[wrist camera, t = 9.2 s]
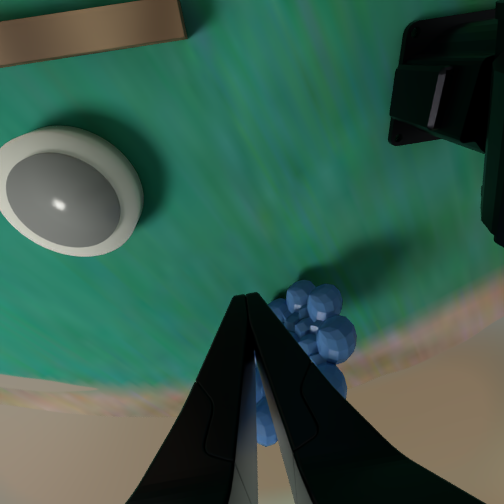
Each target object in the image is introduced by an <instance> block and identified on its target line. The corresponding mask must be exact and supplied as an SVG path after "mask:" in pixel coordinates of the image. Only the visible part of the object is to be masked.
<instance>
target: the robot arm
mask: <svg viewBox="0 0 504 504" xmlns="http://www.w3.org/2000/svg"><path fill="white" fill-rule="evenodd" d="M414 28H416V35H415V37H414V38H412V35H411V33H412V30H413V29H414ZM390 116H391V121H390V128H389V135H388V141H389V143H390V144H392V145H394V146H400V145H406V144H413V143H419V142H425V141H431V140H437V139H444V140H447V141H450V142H453V143H455V144H458V145H461V146H464V147H466V148H469V149H472V150H475V151H478V152H480V153H483V154H485V160H484V172H483V185H482V187H481V221H482V222H483V223H484V224H485V226H486V227H487V228H488V230H489V231H490V232H491V233H492V234H493V235H494V241H495V243H497V244H499V245H501V246H502V247H504V0H499V1H497V2H496V9H491V10H485V11H479V12H472V13H466V14H459V15H453V16H446V17H440V18H433V19H427V20H420V21H415V22H412V23H410V24H409V25H407V27H406V28H405V30H404V33H403V39H402V45H401V52H400V59H399V66H398V68H397V69H396V71H395V78H394V85H393V92H392V99H391V106H390ZM398 134H399V138H398V139H397V140H395V137H396V136H397V135H398ZM254 352H255V353H254ZM255 357H256V361H257V366H258V369H259V373H260V377H261V380H262V384H263V388H264V391H265V395H266V399H267V402H268V406H269V409H270V413H271V417H272V420H273V424H274V428H275V431H276V435H277V439H278V442H279V446H280V450H281V453H282V457H283V461H284V464H285V468H286V472H287V475H288V479H289V483H290V486H291V490H292V494H293V497H294V501H295V504H486V503H484V502H482V501H481V500H479V499H477V498H475V497H474V496H472V495H470V494H468V493H467V492H465V491H463V490H461V489H460V488H458V487H457V486H455V485H453V484H451V483H450V482H448V481H446V480H445V479H443V478H441V477H439V476H438V475H436V474H434V473H433V472H431V471H429V470H427V469H426V468H424V467H422V466H420V465H419V464H417V463H415V462H414V461H412V460H410V459H409V458H408V457H406V456H405V455H403V454H402V453H401V452H399V451H398V450H397V449H396V448H395V447H393V446H392V445H391V444H390V443H389V442H388V441H387V440H386V439H385V438H384V437H382V435H381V434H380V433H379V432H378V431H377V430H376V429H375V428H374V427H373V426H372V425H371V424H370V423H369V422H368V421H367V420H366V419H365V418H364V417H363V416H362V415H361V414H359V412H358V411H357V410H356V409H354V407H353V406H352V405H351V404H349V403H348V401H346V399H345V398H344V397H343V396H342V395H341V394H340V393H339V392H338V391H337V390H336V389H335V388H334V387H333V386H332V384H331V383H330V382H329V381H328V380H327V379H326V377H325V376H324V375H323V374H322V373H321V371H320V370H319V369H318V368H317V366H316V365H315V364H314V363H313V362H312V360H311V359H310V358H309V356H308V355H307V354H306V353H305V351H304V350H303V349H302V348H301V346H300V345H299V344H298V343H297V341H296V340H295V339H294V337H293V336H292V335H291V334H290V332H289V331H288V330H287V329H286V327H285V326H284V325H283V324H282V322H281V321H280V320H279V319H278V317H277V316H276V315H275V313H274V312H273V311H272V310H271V308H270V307H269V306H268V305H267V303H266V302H265V301H264V300H263V298H262V297H261V296H260V294H259V293H257V292H254V293H248V294H246V296H245V295H244V294H242V295H236V296H233V298H232V300H231V302H230V304H229V307H228V309H227V311H226V313H225V316H224V318H223V320H222V322H221V325H220V327H219V329H218V331H217V333H216V336H215V338H214V340H213V342H212V345H211V347H210V349H209V351H208V354H207V356H206V358H205V360H204V363H203V365H202V367H201V369H200V371H199V374H198V376H197V378H196V382H195V383H194V385H193V387H192V389H191V391H190V394H189V396H188V398H187V400H186V402H185V404H184V406H183V408H182V410H181V412H180V414H179V416H178V417H177V419H176V421H175V423H174V425H173V427H172V429H171V430H170V432H169V434H168V435H167V437H166V439H165V440H164V442H163V444H162V446H161V447H160V449H159V451H158V453H157V454H156V456H155V458H154V459H153V461H152V463H151V464H150V466H149V468H148V470H147V471H146V473H145V475H144V477H143V478H142V480H141V481H140V483H139V485H138V486H137V488H136V489H135V491H134V492H133V494H132V495H131V497H130V498H129V499H128V501H127V502H126V503H125V504H258V482H257V425H256V369H255Z"/></svg>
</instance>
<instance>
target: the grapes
mask: <svg viewBox="0 0 504 504" xmlns="http://www.w3.org/2000/svg"><path fill="white" fill-rule="evenodd" d="M342 302H343V300H342V297H341V293H340V291H339V290H338V289H337V288H336V287H335V286H334V285H331V284H322V285H319V286H317V287H315V286H314V284H313V283H312V282H311V281H308V280H300V281H297V282H295V283H294V284H293V285H291V286H290V287H289V289H288V290H287V295H286V299H284V298H278V299H276V300H273V301H272V302H271V303H269V304H268V306H269V307H270V308H271V310H272V311H273V312H274V313H275V315H276V316H277V317H278V319H279V320H280V321H281V322H282V324H283V325H284V326H285V327H286V329H287V330H288V331H289V332H290V334H291V335H292V336H293V337H294V339H295V340H296V341H297V343H298V344H299V345H300V346H301V348H302V349H303V350H304V351H305V353H306V354H307V355H308V356H309V358H310V359H311V360H312V362H313V363H314V364H315V365H316V366H317V368H318V369H319V370H320V371H321V373H322V374H323V375H324V376H325V377H326V379H327V380H328V381H329V382H330V383H331V384H332V386H333V387H334V388H335V389H336V390H337V391H338V392H339V393H340V394H341V395H342V396H343V397H344V398H345V399H346V395H347V385H346V382H345V378H344V375H343V373H342V372H341V371H340V370H339V369H338V367H337V366H336V364H339V363H342V362H345V361H346V360H347V359H348V358H349V357H350V356H351V354H352V353H353V352H354V349H355V346H356V338H357V335H356V331H355V328H354V325H353V324H352V323H351V322H350V321H349V320H348V319H347V318H346V317H345V316H340V315H339V314H340V312H341V310H342ZM254 353H255V352H254ZM255 367H256V368H255V369H256V425H257V443H259V444H261V445H263V446H265V447H267V446H270V445H273V444H275V443H276V442H277V441H278V439H277V435H276V431H275V428H274V424H273V420H272V417H271V413H270V409H269V406H268V402H267V399H266V395H265V391H264V388H263V384H262V380H261V377H260V373H259V369H258V366H257V361H256V357H255Z"/></svg>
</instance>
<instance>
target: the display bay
mask: <svg viewBox="0 0 504 504" xmlns="http://www.w3.org/2000/svg"><path fill="white" fill-rule="evenodd" d="M185 39H188V38H187V34H186V29H185V24H184V19H183V14H182V9H181V5H180V1H179V0H140V1H134V2H127V3H120V4H114V5H107V6H101V7H94V8H88V9H81V10H74V11H68V12H61V13H55V14H48V15H41V16H35V17H28V18H22V19H15V20H8V21H2V22H0V68H3V67H9V66H16V65H22V64H29V63H35V62H42V61H48V60H55V59H61V58H68V57H74V56H81V55H87V54H94V53H100V52H107V51H113V50H120V49H126V48H133V47H139V46H146V45H152V44H159V43H165V42H172V41H178V40H185Z"/></svg>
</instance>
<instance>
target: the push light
mask: <svg viewBox="0 0 504 504" xmlns="http://www.w3.org/2000/svg"><path fill="white" fill-rule="evenodd" d="M143 204H144V194H143V188H142V184H141V181H140V179H139V176H138V174H137V172H136V170H135V169H134V167H133V165H132V164H131V163H130V161H129V160H128V159H127V158H126V157H125V156H124V154H123V153H122V152H121V151H120V150H118V149H117V148H116V147H115V146H114V145H112V144H111V143H109V142H108V141H107V140H105V139H103V138H102V137H100V136H98V135H96V134H94V133H91V132H89V131H87V130H83V129H80V128H76V127H71V126H59V125H57V126H47V127H43V128H39V129H37V130H34V131H32V132H29V133H27V134H24V135H22V136H19V137H17V138H15V139H12V140H11V141H9V142H7V143H6V144H4V145H3V146H2V147H1V148H0V211H1V212H2V214H3V215H4V216H5V218H6V219H7V220H8V221H9V222H10V223H11V224H12V225H13V226H14V227H15V228H16V229H17V230H18V231H19V232H20V233H22V234H23V235H24V236H26V237H27V238H29V239H30V240H32V241H33V242H35V243H37V244H39V245H41V246H43V247H45V248H47V249H50V250H52V251H55V252H58V253H62V254H66V255H72V256H97V255H102V254H106V253H108V252H111V251H113V250H115V249H117V248H118V247H120V246H121V245H123V244H124V243H125V242H126V241H127V240H128V238H129V237H130V236H131V234H132V232H133V230H134V228H135V226H136V224H137V222H138V220H139V218H140V216H141V213H142V210H143Z"/></svg>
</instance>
